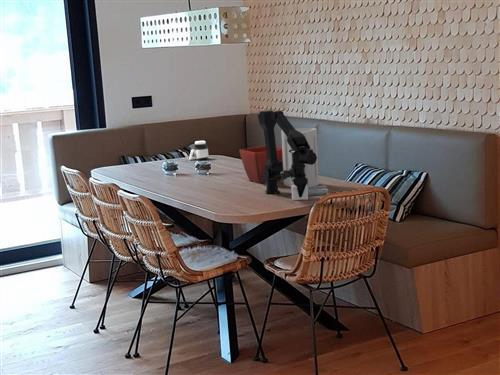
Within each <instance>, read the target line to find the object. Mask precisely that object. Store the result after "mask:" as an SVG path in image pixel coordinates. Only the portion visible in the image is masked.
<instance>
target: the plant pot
mask: <svg viewBox="0 0 500 375" xmlns="http://www.w3.org/2000/svg"><path fill="white" fill-rule="evenodd" d="M276 150H277V158H278V160H279V161H280V162H282V165H283V154H282V146H281V147H279V146H276ZM239 155H240V158H241V162H242V165H243V168H244V171H245V173H246V175H247V178H248V181H250V182H254V183H258V184H264V183H265V184H266V181H262V178H261V176H262V174H263V173H264V171H265V164H266V161H267V154H266V145H265V146H256V147H250V148H242V149H241V148H240V149H239ZM281 180H282V179H278V182H279V181H281Z"/></svg>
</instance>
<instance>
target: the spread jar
mask: <svg viewBox="0 0 500 375" xmlns="http://www.w3.org/2000/svg"><path fill="white" fill-rule="evenodd" d="M193 157H194V158H193ZM192 158H193V159H194V160H195V161H206V160H208V159H209V148H208V146H207V144H206V141H205V140H196V141H195V142H194V145H193V149H191V150H190V154H189V157H188V160H189V161H191V160H192Z"/></svg>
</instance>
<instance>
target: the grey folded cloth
mask: <svg viewBox="0 0 500 375" xmlns="http://www.w3.org/2000/svg"><path fill="white" fill-rule="evenodd" d="M327 193H329V188H327V185H317V186H312V187H308V197H310V196H325V195H324V194H327Z"/></svg>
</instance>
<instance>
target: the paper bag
mask: <svg viewBox="0 0 500 375" xmlns="http://www.w3.org/2000/svg"><path fill="white" fill-rule="evenodd" d="M294 129H295V130H297V131H299V132H301V133H302V134H303V135H304V136H305V138H306V140H307V142H308V144H309V145H310V148H311V149H313V152H314V153H315V154H316V156H317V161H316V162H315V164H313V165H310V164H305V174H306V176H305V177H306V178H307V179H308V183H307V184H306V185H307V186H308V187H312V186H320V185H319V184H320V181H319V180H320V179H319V178H320V176H319V151H318V149H319V148H318V130H317V128H294ZM280 131H281V148H282V154H283V171H284V170H286V169H289V168H291V165H292V152H289V150H290V149H291V147H290V146H289V144H288V142H287V136H286V135H285V133H284V132H283V131H282V129H281V130H280ZM292 179H293V178H291V177H288V178H286V179H285V180H283V185H284V186H285V187H289V188H291V185H294V182H293V181H292Z"/></svg>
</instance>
